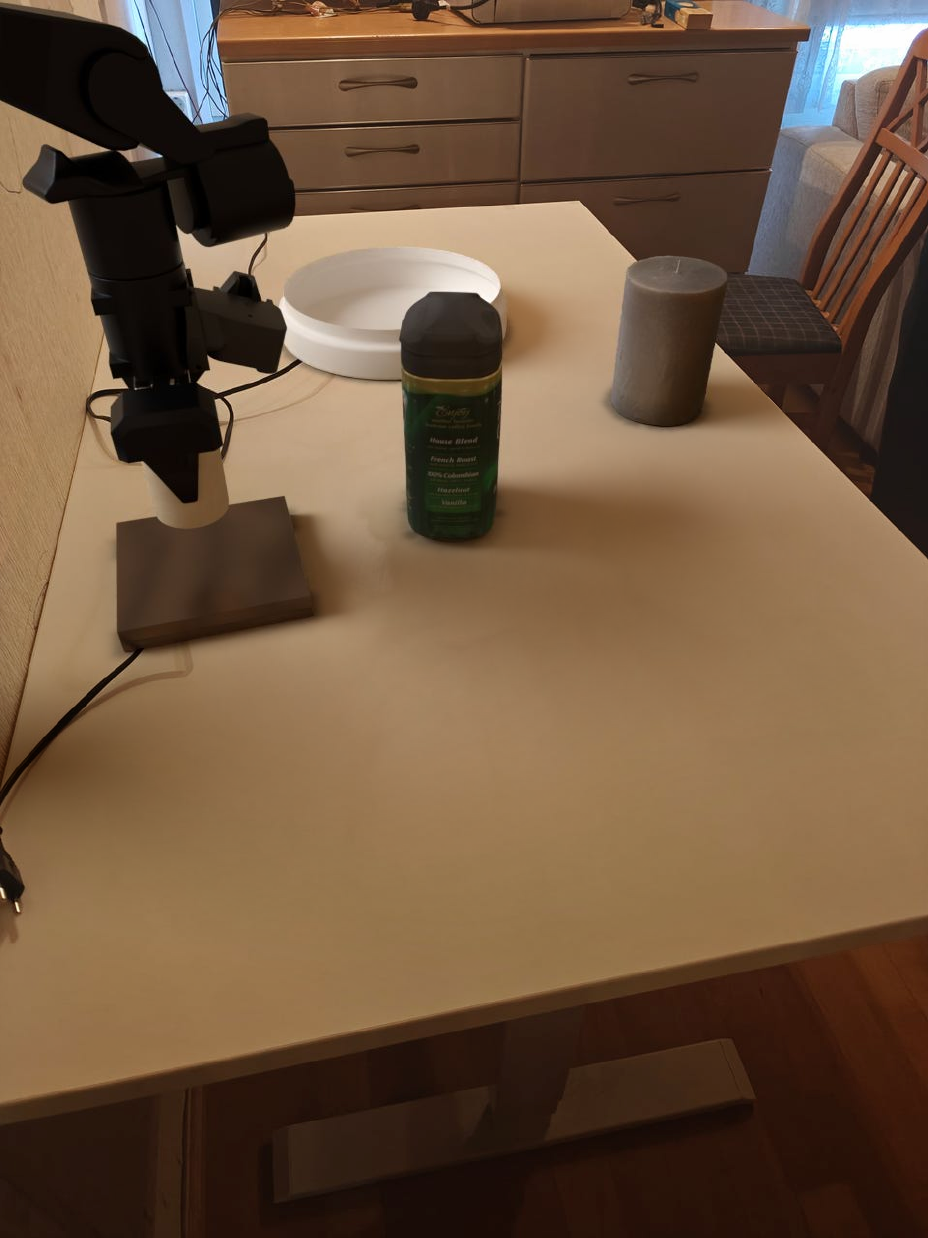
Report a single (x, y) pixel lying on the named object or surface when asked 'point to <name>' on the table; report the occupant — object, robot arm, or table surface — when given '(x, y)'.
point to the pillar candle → (667, 338)
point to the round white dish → (372, 305)
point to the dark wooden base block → (208, 575)
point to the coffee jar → (451, 414)
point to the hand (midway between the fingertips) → (187, 479)
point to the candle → (209, 495)
